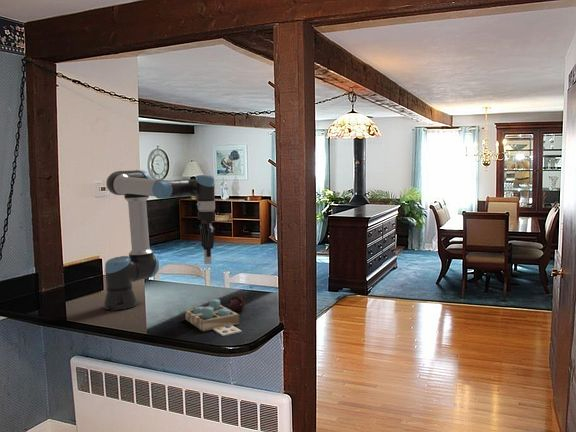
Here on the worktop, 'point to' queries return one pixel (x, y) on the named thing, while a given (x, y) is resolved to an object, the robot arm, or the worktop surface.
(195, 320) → the wooden compartment tray
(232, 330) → the card
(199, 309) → the teal rounded lump
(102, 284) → the worktop surface
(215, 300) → the teal blunt egg shape
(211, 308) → the teal domed cylinder
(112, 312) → the worktop surface
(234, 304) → the icecream
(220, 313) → the teal blunt tapered piece
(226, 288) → the worktop surface
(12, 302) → the worktop surface
